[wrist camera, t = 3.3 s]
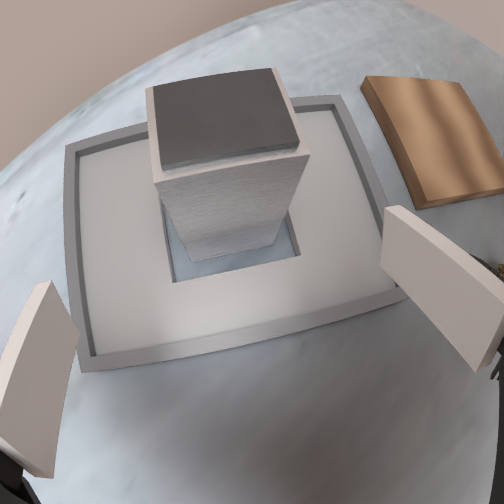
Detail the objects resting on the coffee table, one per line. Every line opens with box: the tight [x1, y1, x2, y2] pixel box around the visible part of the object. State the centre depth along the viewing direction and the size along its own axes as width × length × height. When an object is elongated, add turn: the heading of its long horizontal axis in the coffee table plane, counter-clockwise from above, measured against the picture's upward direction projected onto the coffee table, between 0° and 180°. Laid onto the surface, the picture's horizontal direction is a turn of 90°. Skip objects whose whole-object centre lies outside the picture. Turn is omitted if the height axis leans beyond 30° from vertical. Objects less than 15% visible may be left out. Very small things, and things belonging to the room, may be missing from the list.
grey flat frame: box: [63, 95, 410, 373], centre depth 23 cm, size 24×18×2 cm
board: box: [360, 76, 504, 210], centre depth 27 cm, size 14×14×2 cm
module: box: [145, 68, 311, 262], centre depth 18 cm, size 6×5×13 cm
